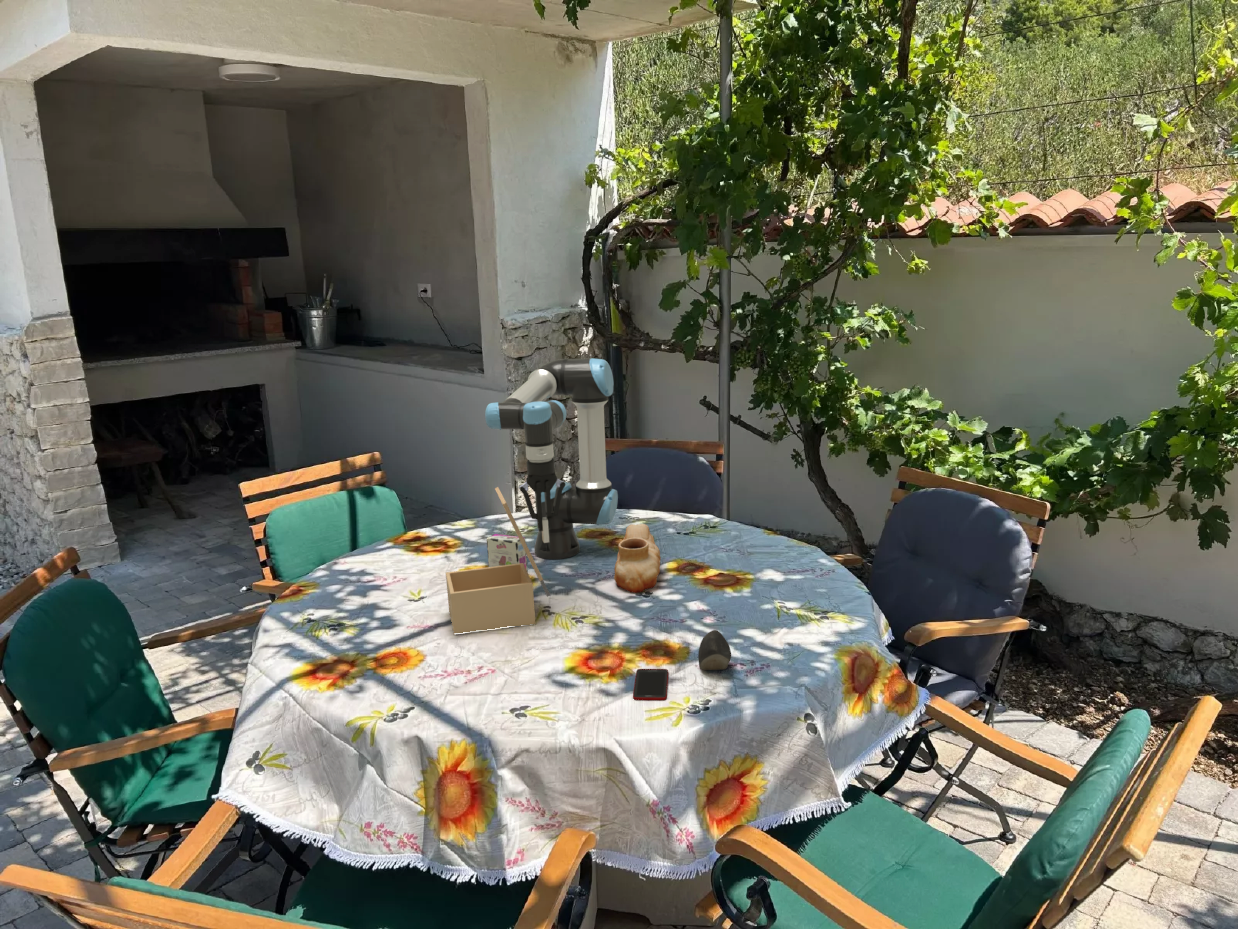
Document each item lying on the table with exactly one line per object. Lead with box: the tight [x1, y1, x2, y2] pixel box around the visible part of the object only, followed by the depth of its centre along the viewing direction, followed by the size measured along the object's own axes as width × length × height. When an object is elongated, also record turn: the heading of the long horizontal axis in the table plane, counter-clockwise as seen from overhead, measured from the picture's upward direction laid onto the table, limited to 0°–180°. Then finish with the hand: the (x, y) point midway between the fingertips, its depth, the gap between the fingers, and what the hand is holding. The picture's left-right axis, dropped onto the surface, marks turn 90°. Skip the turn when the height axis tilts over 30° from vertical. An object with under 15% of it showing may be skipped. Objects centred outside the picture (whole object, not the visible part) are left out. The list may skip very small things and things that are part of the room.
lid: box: [494, 486, 551, 598], centre depth 259 cm, size 31×17×1 cm
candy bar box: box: [486, 533, 528, 571], centre depth 281 cm, size 11×5×16 cm, turn 62°
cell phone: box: [632, 668, 669, 702], centre depth 219 cm, size 8×15×1 cm, turn 175°
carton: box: [445, 563, 536, 634], centre depth 260 cm, size 22×17×12 cm
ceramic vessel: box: [613, 523, 662, 594], centre depth 286 cm, size 14×26×15 cm, turn 175°
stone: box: [697, 629, 732, 671], centre depth 226 cm, size 8×8×10 cm
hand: (545, 540), depth 261 cm, fingers closed
